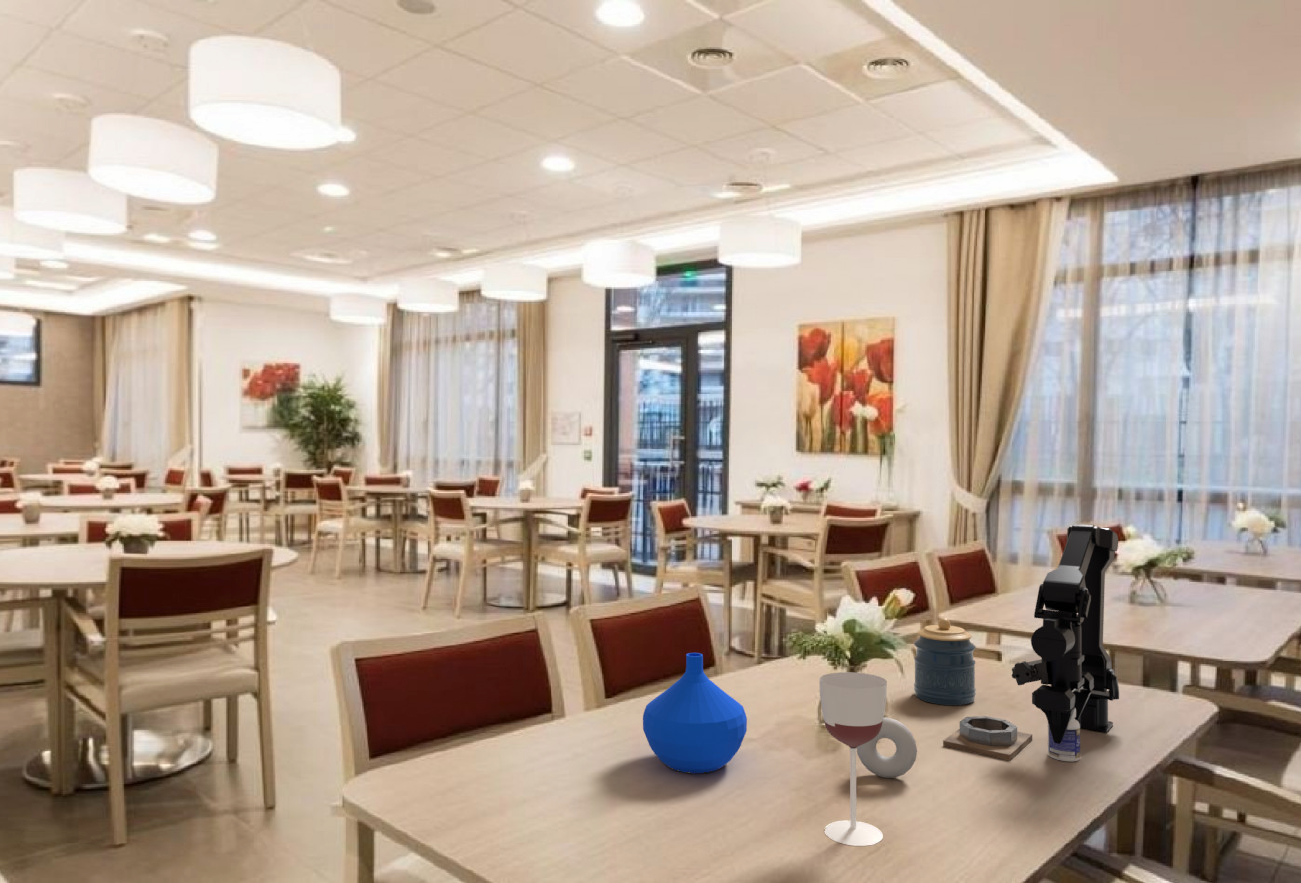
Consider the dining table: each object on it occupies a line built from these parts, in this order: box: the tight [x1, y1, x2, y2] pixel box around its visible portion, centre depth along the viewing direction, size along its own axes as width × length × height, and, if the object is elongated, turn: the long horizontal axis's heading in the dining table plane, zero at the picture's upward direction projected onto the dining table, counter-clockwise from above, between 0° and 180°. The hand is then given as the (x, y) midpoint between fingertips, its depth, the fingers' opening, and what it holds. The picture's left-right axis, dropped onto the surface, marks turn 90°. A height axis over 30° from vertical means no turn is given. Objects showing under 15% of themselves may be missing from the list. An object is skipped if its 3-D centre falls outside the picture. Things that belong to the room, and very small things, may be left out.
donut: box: [856, 716, 918, 779], centre depth 146 cm, size 10×4×10 cm, turn 71°
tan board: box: [942, 728, 1033, 761], centre depth 163 cm, size 14×12×1 cm
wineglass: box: [819, 671, 888, 847], centre depth 125 cm, size 9×10×22 cm
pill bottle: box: [1047, 708, 1081, 763], centre depth 155 cm, size 5×5×9 cm
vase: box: [642, 652, 748, 774], centre depth 153 cm, size 18×18×19 cm
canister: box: [913, 617, 977, 706], centre depth 192 cm, size 13×13×18 cm
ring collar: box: [959, 715, 1018, 746], centre depth 163 cm, size 9×9×2 cm
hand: (1064, 736), depth 156 cm, fingers open, 9 cm apart
